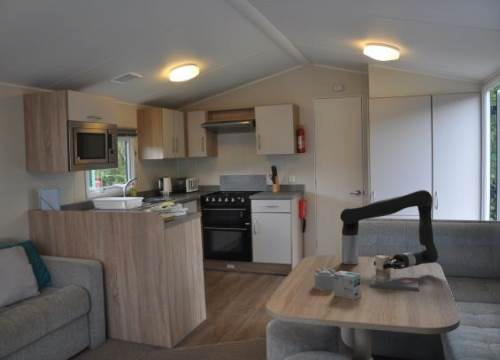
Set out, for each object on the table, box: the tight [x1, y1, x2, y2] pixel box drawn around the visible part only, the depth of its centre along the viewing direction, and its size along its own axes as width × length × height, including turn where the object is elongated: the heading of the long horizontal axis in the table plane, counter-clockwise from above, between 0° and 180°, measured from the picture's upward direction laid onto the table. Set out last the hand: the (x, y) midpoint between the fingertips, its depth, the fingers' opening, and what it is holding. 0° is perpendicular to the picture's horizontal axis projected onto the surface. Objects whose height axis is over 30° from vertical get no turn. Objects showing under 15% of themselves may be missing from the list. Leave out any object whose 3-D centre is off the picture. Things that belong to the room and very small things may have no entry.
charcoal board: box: [369, 274, 420, 292], centre depth 214 cm, size 22×16×2 cm
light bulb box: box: [333, 270, 362, 301], centre depth 198 cm, size 11×7×11 cm, turn 47°
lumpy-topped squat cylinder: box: [314, 267, 337, 291], centre depth 214 cm, size 10×13×9 cm
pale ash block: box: [374, 254, 391, 282], centre depth 216 cm, size 5×5×12 cm
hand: (379, 265), depth 214 cm, fingers open, 6 cm apart
